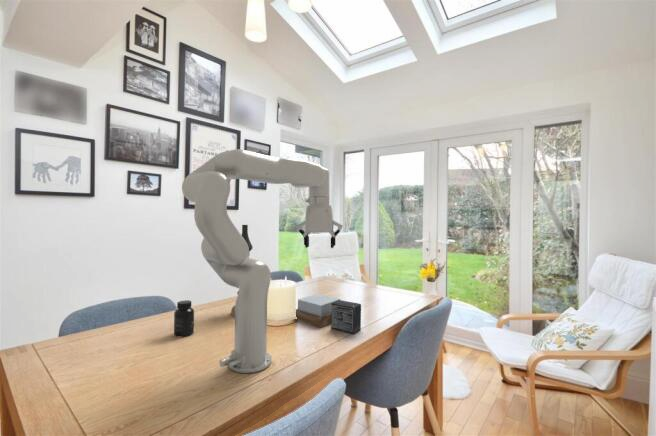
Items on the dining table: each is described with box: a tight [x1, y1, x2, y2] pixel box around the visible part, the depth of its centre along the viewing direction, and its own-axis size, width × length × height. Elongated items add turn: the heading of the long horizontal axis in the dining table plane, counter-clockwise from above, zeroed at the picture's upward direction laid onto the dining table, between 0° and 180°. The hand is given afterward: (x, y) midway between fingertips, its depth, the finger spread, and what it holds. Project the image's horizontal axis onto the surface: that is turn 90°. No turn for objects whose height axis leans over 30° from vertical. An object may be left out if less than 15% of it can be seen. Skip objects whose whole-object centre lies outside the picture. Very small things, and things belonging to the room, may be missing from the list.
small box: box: [330, 299, 362, 335], centre depth 124 cm, size 11×6×10 cm, turn 58°
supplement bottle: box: [173, 300, 195, 338], centre depth 116 cm, size 7×7×12 cm
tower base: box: [295, 308, 332, 328], centre depth 136 cm, size 15×15×4 cm
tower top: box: [297, 293, 341, 317], centre depth 135 cm, size 13×13×4 cm
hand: (319, 247), depth 117 cm, fingers open, 9 cm apart
